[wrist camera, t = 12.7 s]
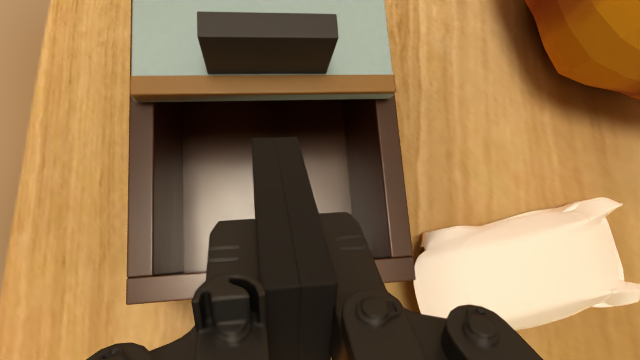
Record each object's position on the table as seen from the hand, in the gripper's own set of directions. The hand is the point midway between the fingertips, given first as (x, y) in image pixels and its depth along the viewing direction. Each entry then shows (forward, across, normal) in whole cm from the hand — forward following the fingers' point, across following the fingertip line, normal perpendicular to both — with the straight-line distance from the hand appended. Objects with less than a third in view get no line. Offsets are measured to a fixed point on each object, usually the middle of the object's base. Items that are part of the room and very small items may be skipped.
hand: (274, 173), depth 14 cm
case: (+15, 0, -8) cm, 17 cm away
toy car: (+8, +18, -14) cm, 25 cm away
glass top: (+15, 0, +6) cm, 16 cm away
